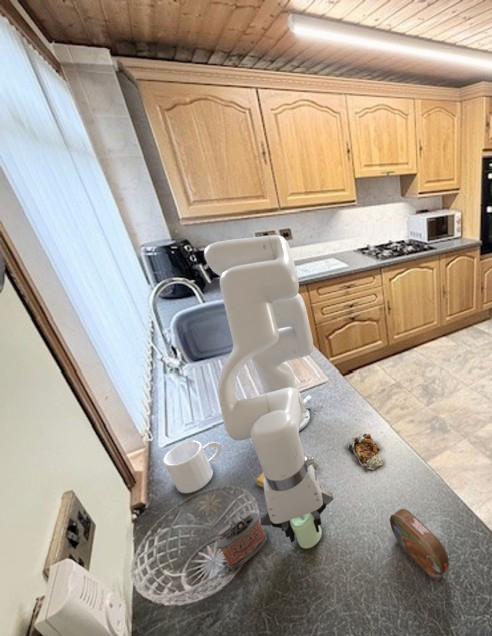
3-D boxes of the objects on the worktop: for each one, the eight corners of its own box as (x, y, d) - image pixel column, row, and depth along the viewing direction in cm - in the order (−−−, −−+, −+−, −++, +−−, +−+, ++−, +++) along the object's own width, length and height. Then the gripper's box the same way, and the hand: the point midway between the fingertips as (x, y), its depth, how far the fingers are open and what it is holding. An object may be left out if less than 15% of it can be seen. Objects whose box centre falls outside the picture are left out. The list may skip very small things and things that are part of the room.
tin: (390, 534, 75) (386, 508, 72) (401, 524, 77) (398, 498, 74) (440, 589, 66) (439, 562, 62) (451, 575, 68) (451, 549, 64)
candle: (310, 552, 73) (300, 529, 69) (293, 542, 75) (282, 519, 71) (326, 531, 76) (318, 507, 73) (309, 521, 79) (300, 498, 75)
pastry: (367, 474, 90) (366, 464, 88) (346, 447, 98) (344, 438, 97) (390, 460, 94) (389, 450, 92) (367, 435, 102) (366, 426, 101)
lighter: (262, 531, 77) (250, 501, 73) (270, 541, 75) (258, 510, 71) (225, 562, 72) (210, 531, 67) (232, 573, 70) (217, 542, 65)
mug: (232, 472, 92) (221, 444, 88) (180, 499, 85) (165, 471, 81) (225, 454, 98) (214, 428, 94) (175, 478, 91) (161, 451, 87)
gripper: (328, 443, 72) (341, 502, 80) (239, 470, 67) (263, 530, 75) (334, 470, 66) (347, 531, 74) (236, 503, 61) (262, 564, 68)
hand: (304, 530), depth 74 cm, fingers closed on candle, 4 cm apart
